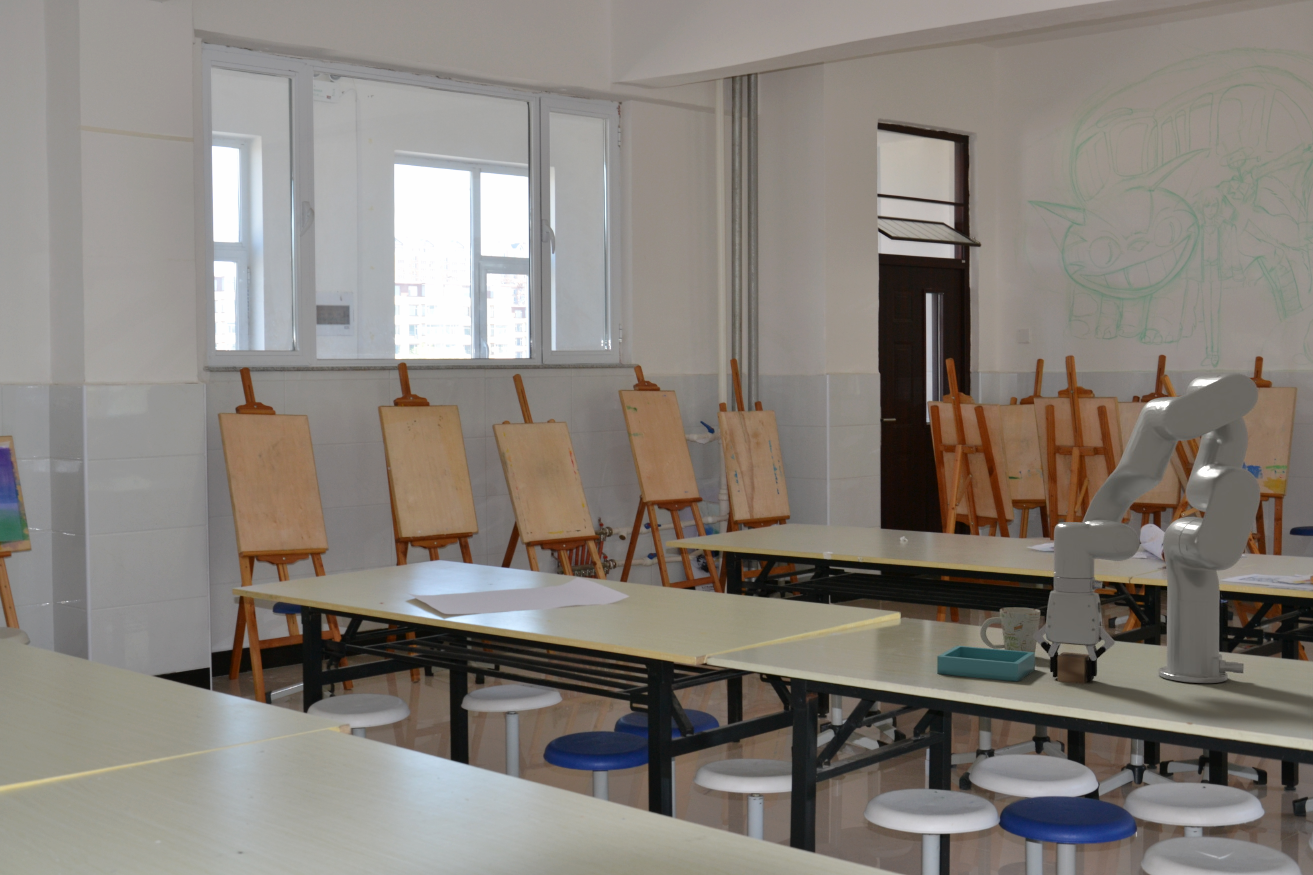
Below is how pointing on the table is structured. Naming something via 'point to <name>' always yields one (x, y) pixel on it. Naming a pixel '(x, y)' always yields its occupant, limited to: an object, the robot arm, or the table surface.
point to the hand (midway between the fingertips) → (1073, 677)
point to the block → (1072, 667)
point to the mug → (1015, 629)
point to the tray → (986, 663)
